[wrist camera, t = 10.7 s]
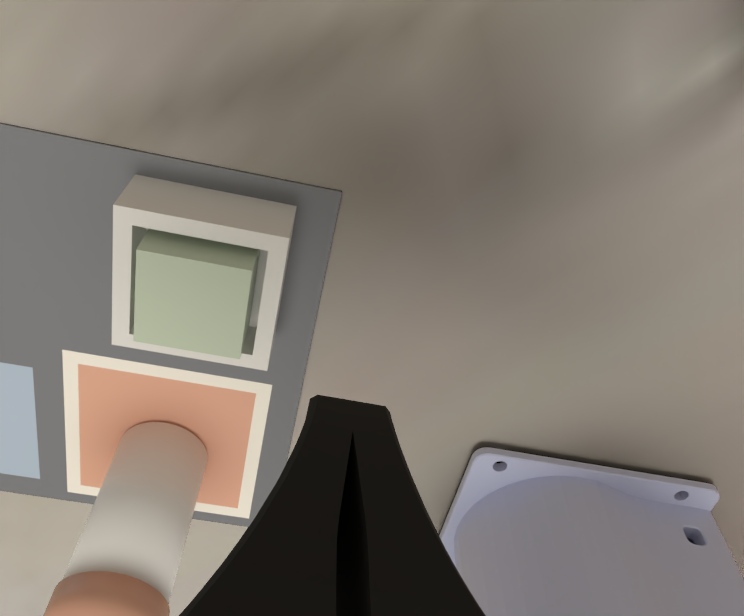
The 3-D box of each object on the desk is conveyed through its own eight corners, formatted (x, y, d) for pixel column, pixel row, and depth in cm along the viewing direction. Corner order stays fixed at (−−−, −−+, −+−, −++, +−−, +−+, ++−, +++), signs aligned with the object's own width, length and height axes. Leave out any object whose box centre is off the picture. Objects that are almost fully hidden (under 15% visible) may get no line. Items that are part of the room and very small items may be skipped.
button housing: (296, 205, 20) (289, 238, 19) (275, 332, 23) (266, 370, 21) (135, 173, 20) (113, 204, 18) (131, 306, 22) (111, 344, 21)
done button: (261, 238, 20) (252, 270, 19) (249, 323, 22) (239, 359, 20) (154, 218, 20) (136, 249, 18) (150, 306, 21) (133, 341, 20)
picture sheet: (343, 178, 21) (342, 192, 20) (275, 510, 29) (272, 530, 28) (-194, 69, 19) (-220, 79, 19) (-108, 453, 28) (-122, 472, 27)
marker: (217, 432, 25) (163, 634, 19) (202, 492, 27) (148, 692, 21) (121, 410, 25) (34, 611, 19) (112, 473, 27) (31, 673, 20)
